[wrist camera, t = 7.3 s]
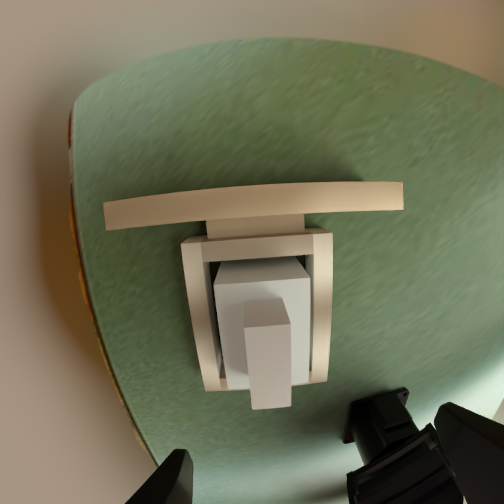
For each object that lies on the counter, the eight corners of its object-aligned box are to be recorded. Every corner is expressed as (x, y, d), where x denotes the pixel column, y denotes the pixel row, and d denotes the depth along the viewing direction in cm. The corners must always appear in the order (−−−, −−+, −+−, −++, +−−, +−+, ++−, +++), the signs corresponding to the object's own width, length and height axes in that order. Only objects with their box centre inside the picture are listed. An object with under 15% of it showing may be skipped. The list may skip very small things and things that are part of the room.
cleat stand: (359, 356, 21) (381, 392, 16) (167, 371, 21) (152, 411, 16) (366, 182, 18) (402, 182, 13) (136, 198, 18) (103, 202, 13)
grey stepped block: (296, 343, 21) (318, 414, 13) (231, 348, 21) (225, 422, 13) (294, 255, 19) (325, 299, 11) (221, 260, 19) (206, 308, 11)
